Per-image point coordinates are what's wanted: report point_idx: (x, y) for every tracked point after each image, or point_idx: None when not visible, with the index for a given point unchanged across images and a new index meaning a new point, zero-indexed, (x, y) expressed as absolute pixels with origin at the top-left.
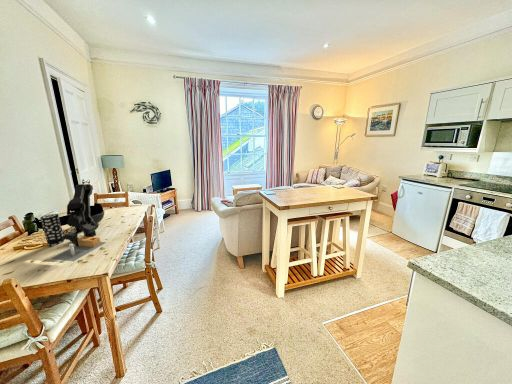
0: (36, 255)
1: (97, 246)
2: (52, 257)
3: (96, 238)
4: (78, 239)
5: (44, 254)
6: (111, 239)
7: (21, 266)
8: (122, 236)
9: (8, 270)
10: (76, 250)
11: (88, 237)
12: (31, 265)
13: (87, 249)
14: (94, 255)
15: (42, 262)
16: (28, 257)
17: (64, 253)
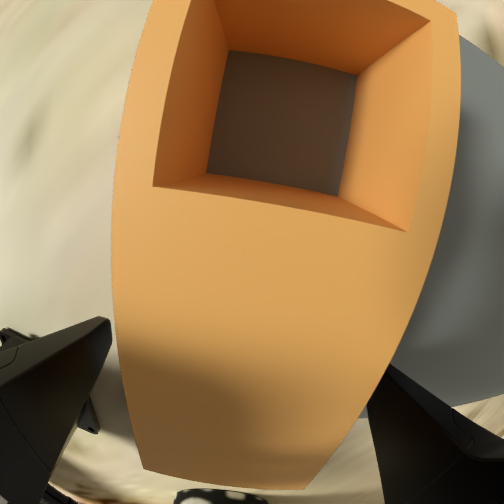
0: (370, 493)
1: None
2: (497, 395)
3: (194, 29)
4: (299, 477)
5: (372, 480)
6: (39, 62)
7: None
8: (4, 19)
9: None
10: (460, 301)
11: (168, 370)
12: (489, 423)
13: (463, 137)
14: (486, 23)
15: (487, 407)
16: (381, 497)
17: (478, 371)
